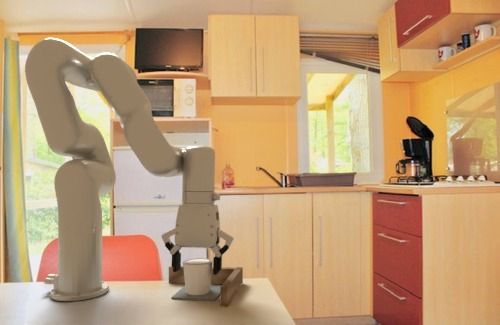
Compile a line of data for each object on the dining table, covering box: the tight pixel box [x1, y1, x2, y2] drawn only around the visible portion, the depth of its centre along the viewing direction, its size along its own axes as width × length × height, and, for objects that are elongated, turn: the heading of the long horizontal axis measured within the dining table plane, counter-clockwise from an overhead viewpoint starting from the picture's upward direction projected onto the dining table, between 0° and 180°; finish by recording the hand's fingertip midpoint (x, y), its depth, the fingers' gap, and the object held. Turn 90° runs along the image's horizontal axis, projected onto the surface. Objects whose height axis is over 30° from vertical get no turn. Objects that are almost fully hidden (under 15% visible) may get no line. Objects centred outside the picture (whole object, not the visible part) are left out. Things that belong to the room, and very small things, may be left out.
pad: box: [171, 284, 222, 302], centre depth 87 cm, size 10×10×1 cm
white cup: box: [182, 257, 213, 295], centre depth 87 cm, size 7×7×7 cm
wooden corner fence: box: [168, 265, 244, 308], centre depth 88 cm, size 19×17×4 cm
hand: (196, 271), depth 87 cm, fingers open, 9 cm apart
